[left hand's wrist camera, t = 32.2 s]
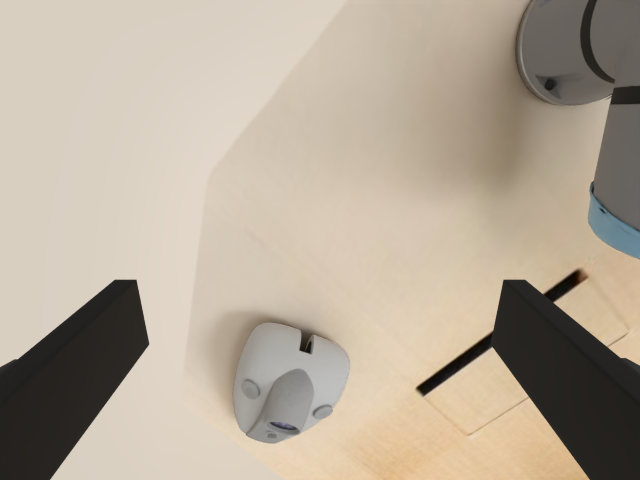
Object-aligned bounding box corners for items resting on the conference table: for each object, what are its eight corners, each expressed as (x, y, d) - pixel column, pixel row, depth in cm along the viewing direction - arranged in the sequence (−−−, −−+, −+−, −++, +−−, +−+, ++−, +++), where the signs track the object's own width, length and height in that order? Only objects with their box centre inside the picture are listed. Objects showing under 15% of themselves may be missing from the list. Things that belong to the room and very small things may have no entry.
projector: (191, 343, 57) (149, 417, 43) (317, 288, 53) (316, 349, 40) (258, 435, 64) (241, 524, 50) (374, 391, 60) (390, 474, 46)
